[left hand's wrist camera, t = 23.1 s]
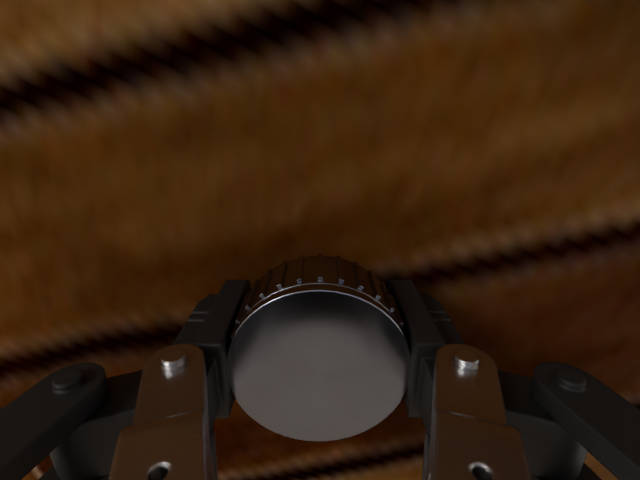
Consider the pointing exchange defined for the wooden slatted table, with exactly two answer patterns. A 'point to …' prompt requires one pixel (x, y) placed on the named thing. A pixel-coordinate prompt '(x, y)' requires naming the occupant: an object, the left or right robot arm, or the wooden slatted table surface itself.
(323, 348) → the lid
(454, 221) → the wooden slatted table surface
